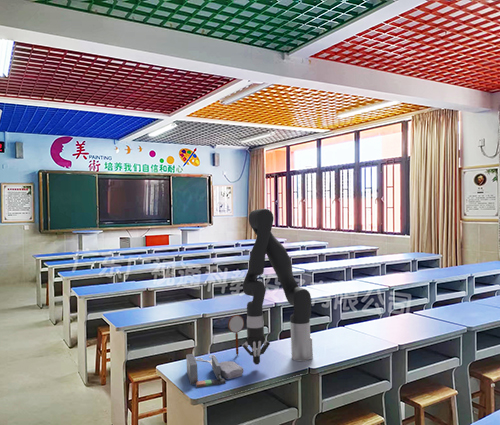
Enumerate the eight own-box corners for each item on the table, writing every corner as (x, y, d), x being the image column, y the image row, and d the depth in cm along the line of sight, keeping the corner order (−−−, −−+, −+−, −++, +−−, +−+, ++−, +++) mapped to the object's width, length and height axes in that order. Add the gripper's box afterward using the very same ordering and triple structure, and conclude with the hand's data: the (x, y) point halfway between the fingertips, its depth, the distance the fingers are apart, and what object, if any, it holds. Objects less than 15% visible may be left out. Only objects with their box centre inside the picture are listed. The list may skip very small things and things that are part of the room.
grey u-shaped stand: (218, 368, 187) (217, 350, 187) (225, 383, 170) (224, 363, 170) (187, 372, 183) (186, 354, 183) (191, 388, 166) (190, 368, 166)
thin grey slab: (215, 368, 186) (215, 355, 186) (223, 383, 169) (222, 369, 169) (212, 368, 185) (211, 356, 185) (219, 383, 168) (218, 370, 168)
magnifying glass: (230, 358, 200) (228, 316, 200) (228, 357, 201) (227, 316, 201) (246, 354, 203) (244, 314, 204) (244, 353, 205) (242, 313, 205)
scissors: (212, 353, 206) (229, 365, 188) (212, 355, 206) (229, 367, 188) (192, 358, 201) (208, 370, 183) (192, 359, 201) (208, 372, 183)
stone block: (234, 371, 188) (214, 371, 183) (235, 360, 188) (215, 360, 184) (246, 380, 177) (225, 381, 173) (247, 369, 178) (226, 369, 173)
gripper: (267, 321, 190) (268, 359, 189) (238, 324, 186) (240, 363, 186) (271, 325, 182) (273, 365, 182) (242, 328, 179) (244, 368, 179)
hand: (256, 363), depth 184 cm, fingers closed
